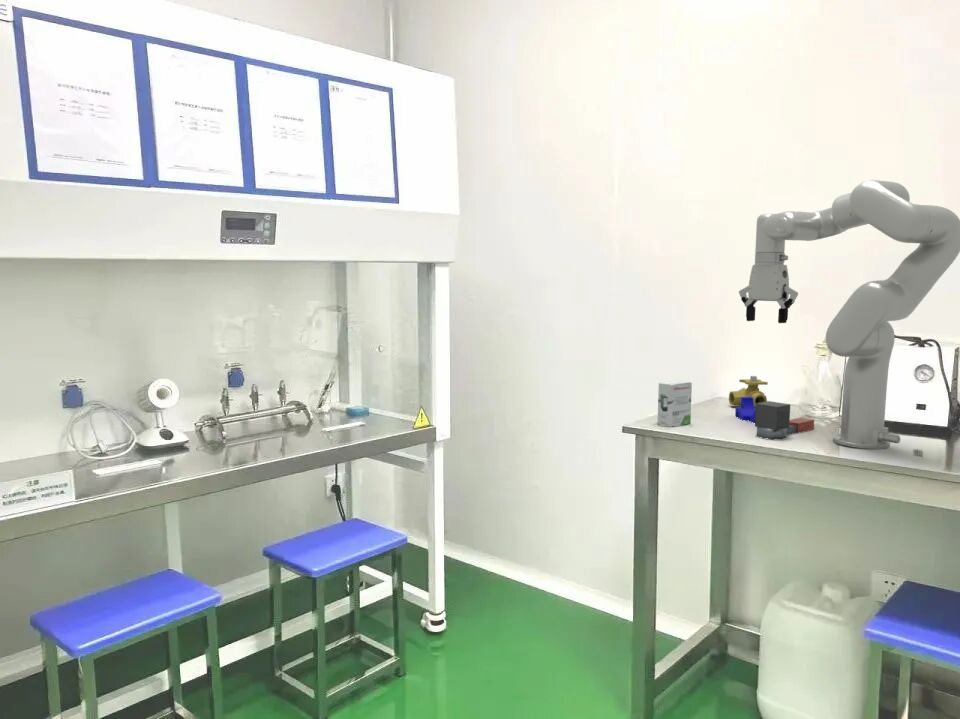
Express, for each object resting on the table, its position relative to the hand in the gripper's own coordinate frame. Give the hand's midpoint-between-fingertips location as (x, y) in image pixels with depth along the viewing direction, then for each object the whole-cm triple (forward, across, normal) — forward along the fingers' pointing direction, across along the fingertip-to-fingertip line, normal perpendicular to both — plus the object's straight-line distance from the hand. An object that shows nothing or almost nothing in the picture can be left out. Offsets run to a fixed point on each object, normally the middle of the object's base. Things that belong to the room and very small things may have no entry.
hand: (766, 321), depth 212 cm
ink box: (+28, +13, +22) cm, 38 cm away
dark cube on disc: (+26, -12, +14) cm, 32 cm away
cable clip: (+29, +3, 0) cm, 29 cm away
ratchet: (+28, -12, +7) cm, 32 cm away
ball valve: (+29, +17, -18) cm, 38 cm away
